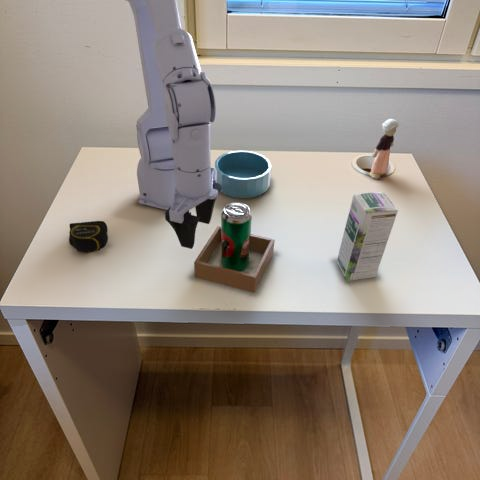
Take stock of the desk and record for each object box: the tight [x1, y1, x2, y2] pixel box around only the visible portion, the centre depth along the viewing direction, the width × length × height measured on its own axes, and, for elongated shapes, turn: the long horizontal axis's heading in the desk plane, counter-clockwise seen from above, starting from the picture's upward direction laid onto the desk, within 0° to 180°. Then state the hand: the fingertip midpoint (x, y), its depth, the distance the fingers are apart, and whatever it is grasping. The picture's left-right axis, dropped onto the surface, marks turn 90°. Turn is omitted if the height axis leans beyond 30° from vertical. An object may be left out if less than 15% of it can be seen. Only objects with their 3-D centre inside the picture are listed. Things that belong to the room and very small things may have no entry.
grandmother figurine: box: [368, 118, 400, 180], centre depth 104 cm, size 8×4×13 cm, turn 148°
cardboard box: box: [193, 225, 276, 294], centre depth 84 cm, size 11×11×4 cm
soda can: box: [220, 201, 253, 272], centre depth 81 cm, size 5×5×12 cm
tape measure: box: [68, 220, 109, 254], centre depth 87 cm, size 7×7×4 cm
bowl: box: [214, 150, 272, 199], centre depth 103 cm, size 12×12×4 cm
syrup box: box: [336, 191, 399, 282], centre depth 80 cm, size 6×6×14 cm
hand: (195, 233), depth 83 cm, fingers open, 7 cm apart
